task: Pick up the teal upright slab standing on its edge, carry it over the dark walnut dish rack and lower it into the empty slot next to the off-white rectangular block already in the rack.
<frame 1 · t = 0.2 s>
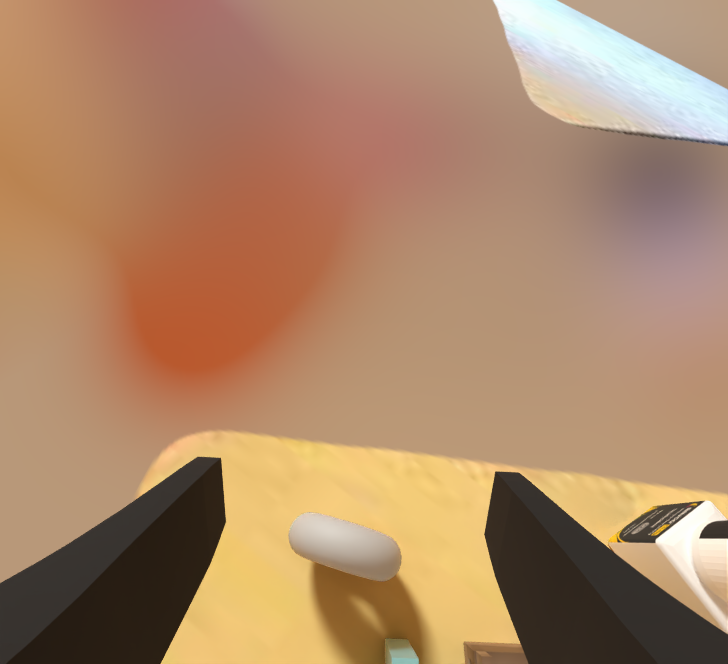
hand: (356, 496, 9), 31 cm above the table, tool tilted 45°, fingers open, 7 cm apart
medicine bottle: (655, 558, 36), on the table
white torus ring: (345, 544, 35), on the table
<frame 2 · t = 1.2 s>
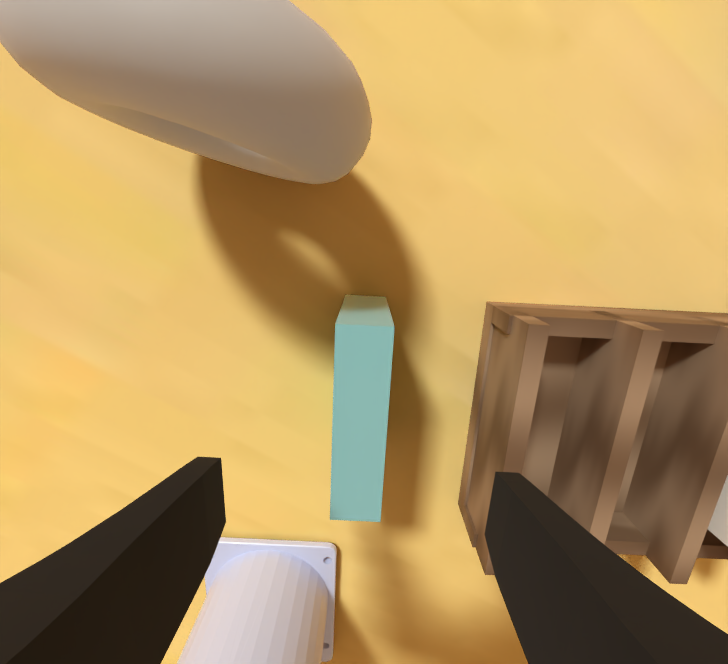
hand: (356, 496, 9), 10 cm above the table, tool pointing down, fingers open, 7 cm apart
rack: (600, 417, 19), on the table
off-white rectangular block: (696, 431, 18), point 1 cm above the table, touching rack
teal upright slab: (362, 370, 19), on the table
white torus ring: (262, 135, 16), on the table
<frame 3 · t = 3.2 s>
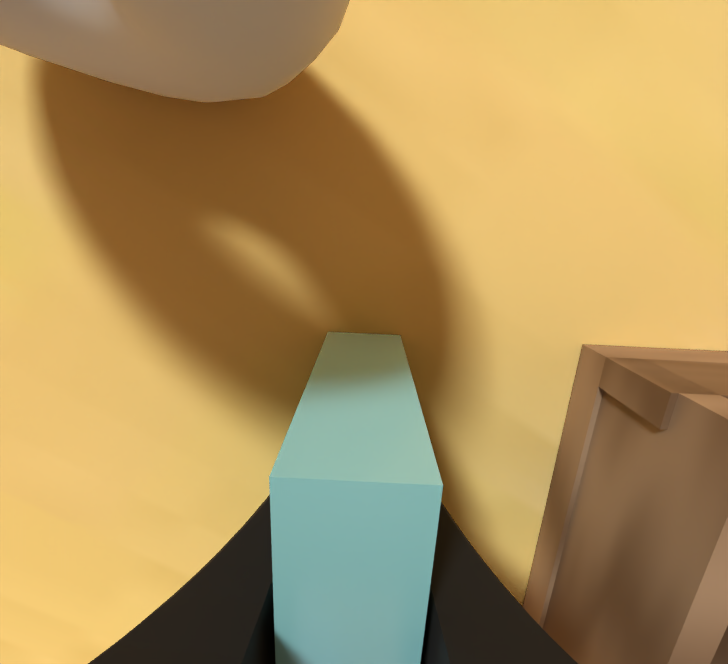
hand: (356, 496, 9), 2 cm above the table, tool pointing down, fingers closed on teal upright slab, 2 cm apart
teal upright slab: (358, 458, 11), on the table, touching gripper
white torus ring: (158, 24, 8), on the table
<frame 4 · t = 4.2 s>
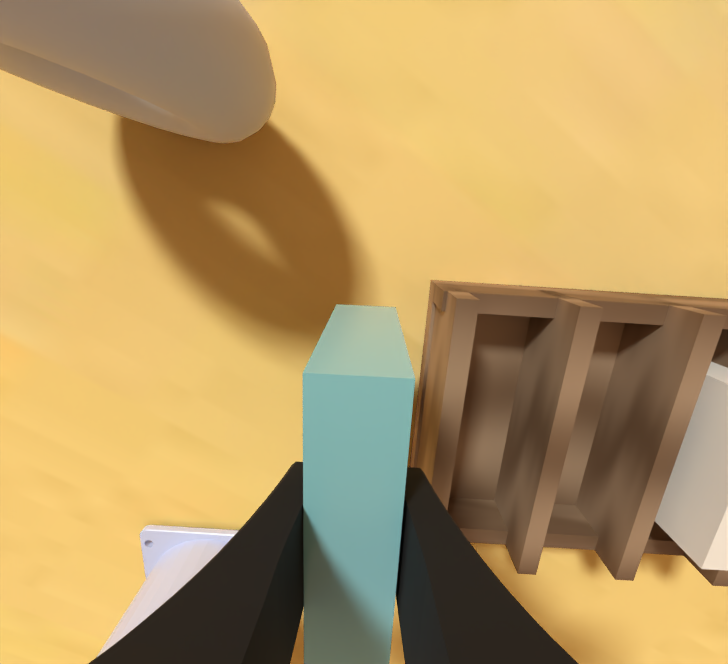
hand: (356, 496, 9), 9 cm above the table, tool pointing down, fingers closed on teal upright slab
rack: (553, 405, 18), on the table
off-white rectangular block: (651, 420, 17), point 1 cm above the table, touching rack
teal upright slab: (360, 411, 13), point 5 cm above the table, touching gripper
white torus ring: (186, 95, 15), on the table
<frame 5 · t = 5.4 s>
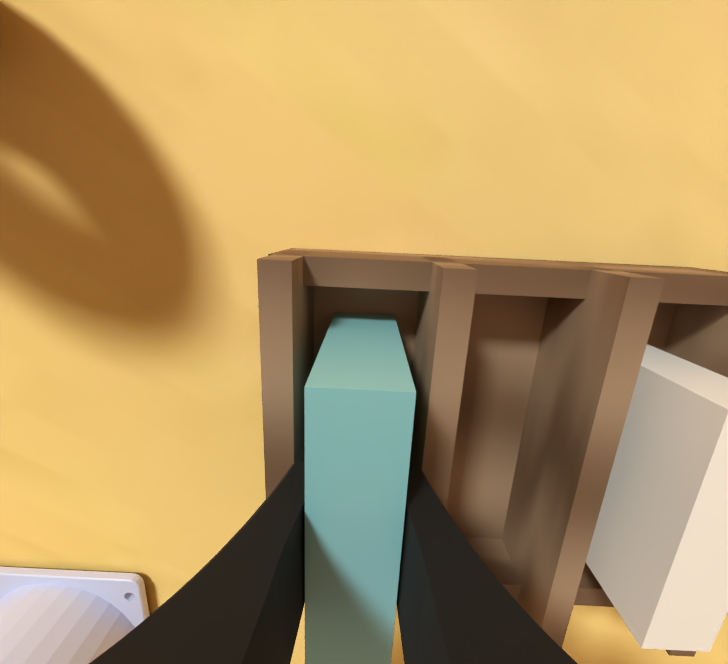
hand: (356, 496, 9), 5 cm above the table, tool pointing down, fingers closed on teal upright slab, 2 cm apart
rack: (468, 411, 14), on the table
off-white rectangular block: (592, 430, 13), point 1 cm above the table, touching rack
teal upright slab: (359, 418, 13), point 1 cm above the table, touching gripper, rack
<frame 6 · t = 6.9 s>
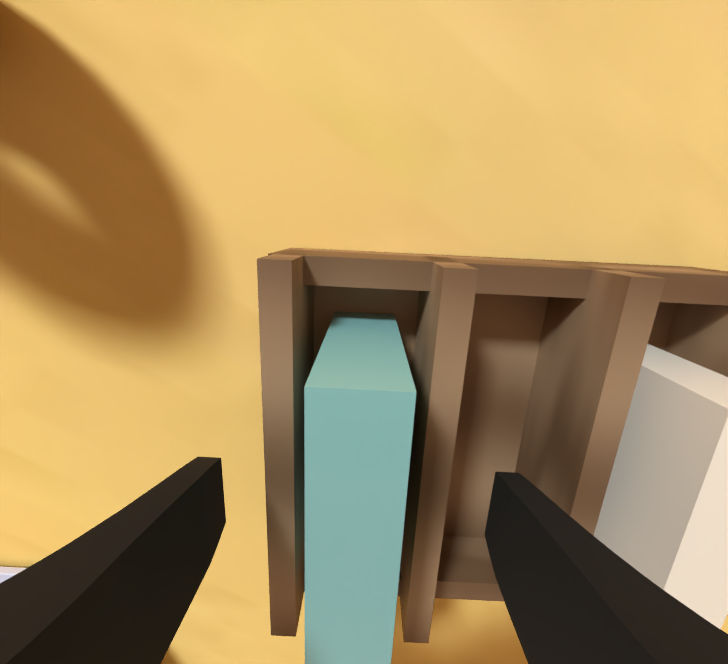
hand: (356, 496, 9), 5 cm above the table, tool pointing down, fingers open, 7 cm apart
rack: (469, 411, 14), on the table
off-white rectangular block: (592, 430, 13), point 1 cm above the table, touching rack
teal upright slab: (360, 417, 13), point 1 cm above the table, touching rack
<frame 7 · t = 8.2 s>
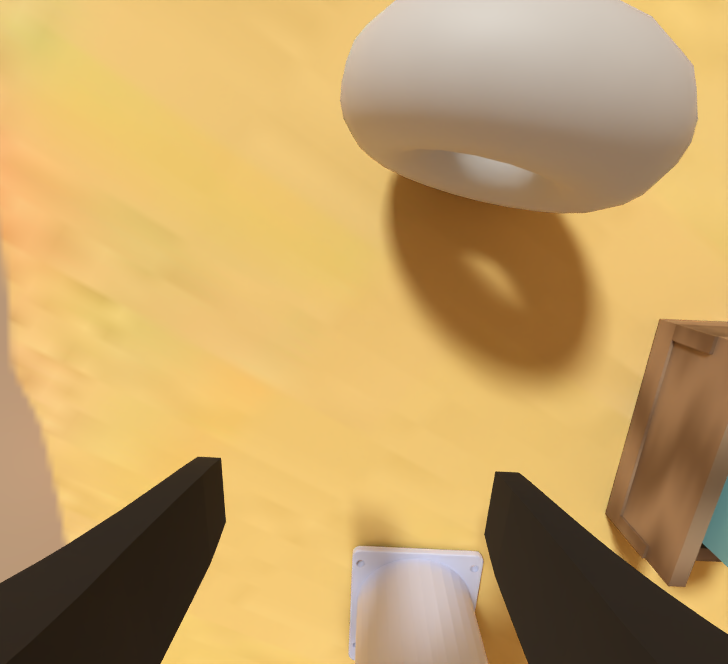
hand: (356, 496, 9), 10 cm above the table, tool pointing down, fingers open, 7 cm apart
teal upright slab: (695, 436, 19), point 1 cm above the table, touching rack
white torus ring: (456, 159, 16), on the table
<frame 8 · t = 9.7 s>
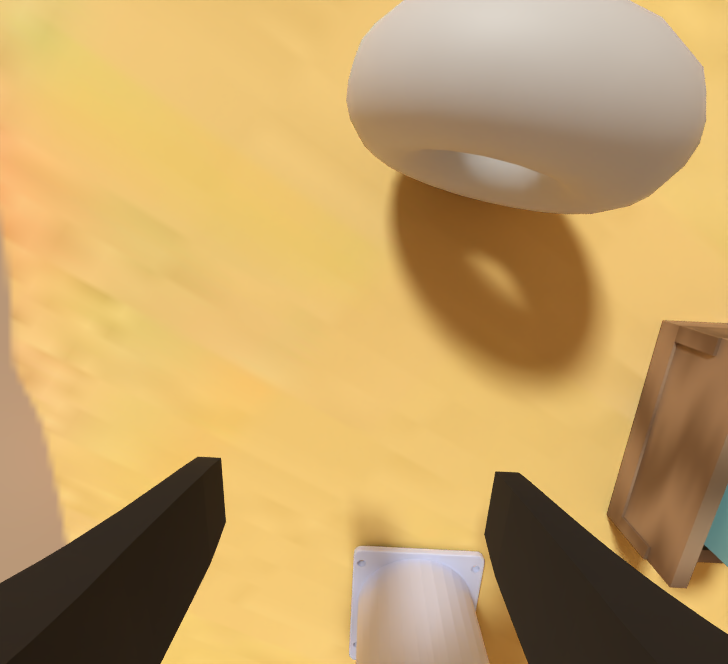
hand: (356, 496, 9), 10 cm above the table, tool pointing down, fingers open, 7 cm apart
teal upright slab: (697, 437, 19), point 1 cm above the table, touching rack
white torus ring: (460, 159, 16), on the table
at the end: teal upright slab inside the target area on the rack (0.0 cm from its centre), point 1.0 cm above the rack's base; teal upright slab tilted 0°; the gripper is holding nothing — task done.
